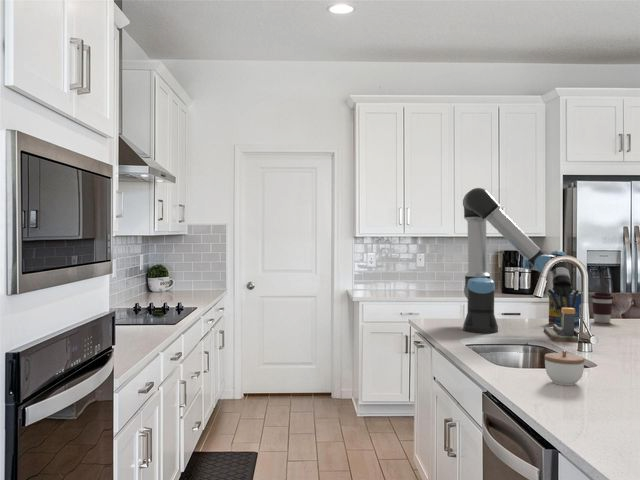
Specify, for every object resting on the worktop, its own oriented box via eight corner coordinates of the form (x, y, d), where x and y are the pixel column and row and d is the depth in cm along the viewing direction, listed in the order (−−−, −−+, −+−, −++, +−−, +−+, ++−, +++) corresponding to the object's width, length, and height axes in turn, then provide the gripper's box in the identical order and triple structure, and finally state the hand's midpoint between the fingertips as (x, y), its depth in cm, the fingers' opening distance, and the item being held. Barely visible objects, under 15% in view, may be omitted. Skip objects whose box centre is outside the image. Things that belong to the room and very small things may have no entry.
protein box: (548, 323, 283) (548, 292, 283) (567, 321, 292) (567, 290, 292) (567, 326, 275) (567, 294, 274) (586, 324, 283) (586, 292, 283)
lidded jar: (564, 389, 161) (565, 355, 161) (536, 380, 171) (536, 348, 171) (592, 385, 165) (593, 353, 165) (563, 377, 175) (563, 346, 175)
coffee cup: (608, 320, 294) (608, 291, 294) (616, 323, 284) (616, 293, 284) (588, 320, 295) (588, 291, 295) (595, 323, 285) (595, 293, 285)
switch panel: (552, 340, 236) (552, 332, 236) (544, 330, 261) (544, 323, 261) (589, 342, 233) (589, 333, 233) (577, 332, 258) (577, 324, 258)
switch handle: (563, 335, 240) (563, 308, 240) (561, 333, 244) (561, 307, 244) (574, 335, 239) (575, 309, 239) (572, 333, 243) (573, 307, 243)
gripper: (575, 285, 262) (582, 328, 246) (544, 284, 265) (549, 326, 249) (577, 274, 256) (585, 317, 240) (546, 273, 260) (551, 316, 243)
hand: (567, 322), depth 245 cm, fingers closed
